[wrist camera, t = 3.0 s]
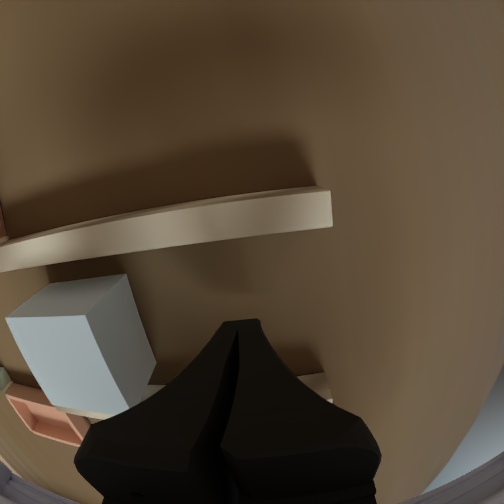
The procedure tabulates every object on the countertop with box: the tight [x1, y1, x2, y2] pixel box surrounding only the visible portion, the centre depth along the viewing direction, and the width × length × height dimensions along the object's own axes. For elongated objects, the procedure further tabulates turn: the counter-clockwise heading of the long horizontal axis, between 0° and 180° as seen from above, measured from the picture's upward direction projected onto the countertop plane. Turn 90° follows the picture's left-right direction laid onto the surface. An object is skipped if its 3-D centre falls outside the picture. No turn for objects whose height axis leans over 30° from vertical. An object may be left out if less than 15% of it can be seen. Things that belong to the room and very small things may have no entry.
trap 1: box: [4, 383, 91, 447], centre depth 15 cm, size 7×4×2 cm, turn 97°
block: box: [5, 274, 157, 415], centre depth 11 cm, size 5×5×4 cm
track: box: [0, 186, 333, 420], centre depth 12 cm, size 32×10×2 cm, turn 97°
